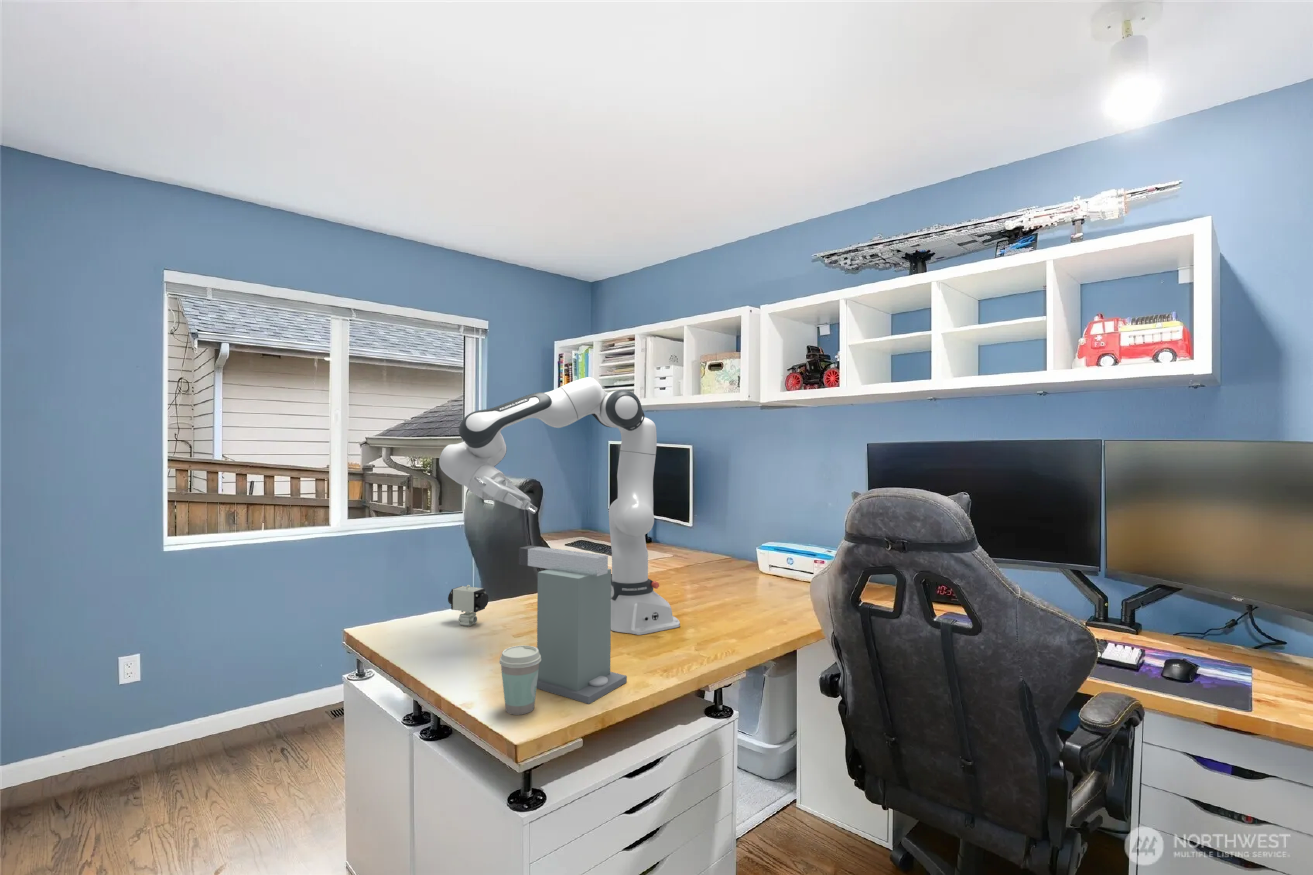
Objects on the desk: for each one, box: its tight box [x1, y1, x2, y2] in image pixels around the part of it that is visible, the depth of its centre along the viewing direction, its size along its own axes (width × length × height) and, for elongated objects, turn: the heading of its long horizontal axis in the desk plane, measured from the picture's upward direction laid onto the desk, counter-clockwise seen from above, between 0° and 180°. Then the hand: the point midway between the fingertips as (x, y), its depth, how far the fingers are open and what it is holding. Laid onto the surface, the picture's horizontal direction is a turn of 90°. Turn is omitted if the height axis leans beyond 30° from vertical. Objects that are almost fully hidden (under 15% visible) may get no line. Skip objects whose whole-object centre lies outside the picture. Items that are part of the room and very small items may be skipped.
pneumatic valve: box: [447, 584, 489, 627], centre depth 184 cm, size 6×12×12 cm, turn 70°
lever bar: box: [518, 545, 609, 576], centre depth 142 cm, size 24×4×4 cm, turn 58°
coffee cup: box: [498, 644, 541, 716], centre depth 126 cm, size 8×8×12 cm
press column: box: [536, 568, 628, 705], centre depth 139 cm, size 16×14×26 cm
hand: (528, 508), depth 160 cm, fingers open, 8 cm apart
